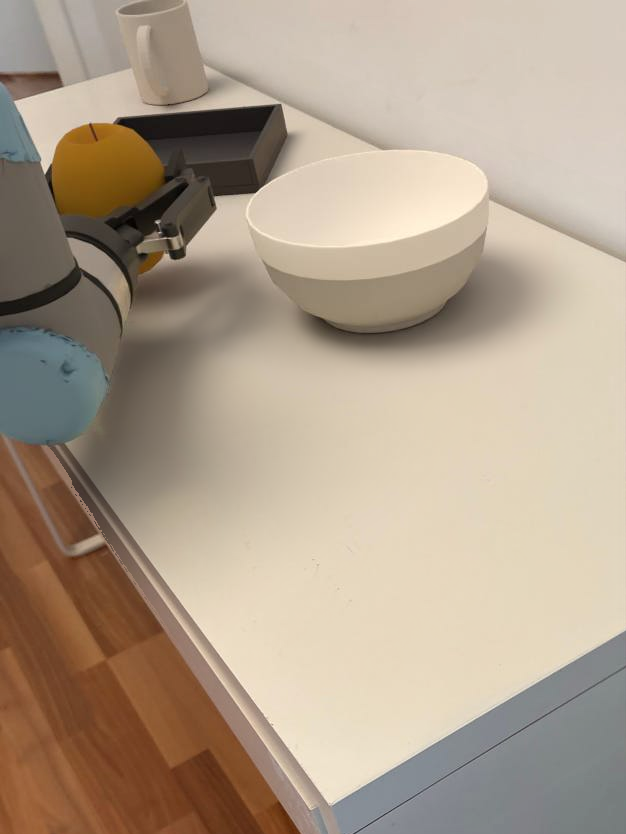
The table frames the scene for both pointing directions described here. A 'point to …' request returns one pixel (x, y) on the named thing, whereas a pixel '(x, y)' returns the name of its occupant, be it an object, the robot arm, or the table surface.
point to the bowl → (372, 235)
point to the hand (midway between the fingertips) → (121, 171)
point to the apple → (105, 173)
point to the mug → (162, 50)
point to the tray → (218, 143)
